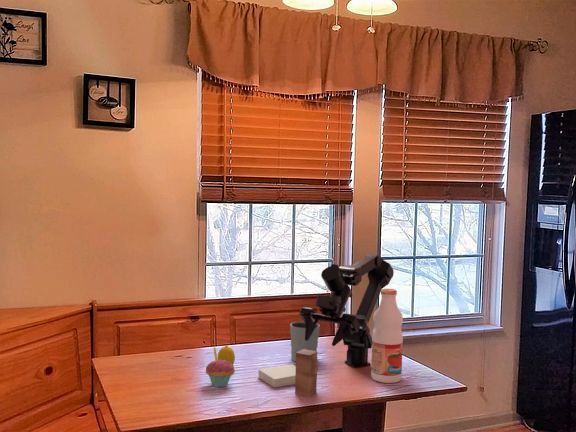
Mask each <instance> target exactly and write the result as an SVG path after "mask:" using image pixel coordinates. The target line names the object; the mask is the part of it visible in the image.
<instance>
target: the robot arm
mask: <svg viewBox="0 0 576 432" xmlns="http://www.w3.org/2000/svg"><path fill="white" fill-rule="evenodd" d="M394 271H395V270H394V268H393V267H392V266H391V264H390V262H387V261H386V260H385V259H383V258H382V257H381V256H380V255H378V254H371V253H370V254H366V255H365V256H364V257H363V258H362V259H359V260H358V261H356V262H355V263H353V264H350V265H349V264H348V265H341V266H339V263H338V264H337V263H331V265H330V266H328V267H326V268H324V269H323V270H322V271H321V274H320V277H321V278H322V281H323V282H324V284H325V286H326V288H327V289H328V291H330V293H329V296H328V295H322V294H317V297H316V301H315V304H314V306H317V307H319V308H318V310H319V312H321V313H316V311H315V309H314V308H311V307H307V306H306V307H304V306H303V307H301V309H300V310H299V313H298V314H299V316H300V318H301V319H302V321H304V322H305V325H306V328H305V340H306V341H308V339H309V338H310V336H311V335H312V333H313V331H314V329H315V328H316V325H315V324H318V321H320V322H321V321H323V322H327V323H332V324H338V328H337V330H336V332H335V335H334V337H333V339H332V343H331V345H332V347H335V346H336V345H337V344H339V343H340V342H341V341H343V345H344V346H347V350H346V360H344V363H345V364H347V365H350V366H352V367H354V368H360V367H365V366H371V362H369V360H368V359H369V349H372V334H371V333H370V332H371V329H370V325H369V322H370V319H371V318H372V316H373V315H372V314H373V312H374V310H375V307H376V305H377V301H378V299H379V298H380V297H379V296H380V295H381V289H385V287H387V286H388V285H389V284H390V282H391V281H392V279H393V277H394ZM366 274H367V279H368V284H367V287H366V289H365V290H364V294H363V296H362V299H361V300H360V304H359V306H358V308H357V311H356V313H355V314H351V313H345V312H346V309H347V308H346V305H347V302H348V300H349V298H350V299H351V298H353V292H352V289H351V287H350V286H352V287H353V286H354V287H356V286H358V285H359V284H360V283H361V282H362V278H363V276H365V275H366Z"/></svg>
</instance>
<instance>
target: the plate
mask: <svg viewBox="0 0 576 432" xmlns="http://www.w3.org/2000/svg"><path fill="white" fill-rule="evenodd" d="M295 374H296V365H294V364H292V363H291V364H284V365H278V366H273V367H267V368H261V369H258V378H259V379H260V380H262V381H263V382H265V383H267V384H268V385H270V386H271V387H272V388H279V387H283V386H285V387H286V386H290V385H295Z"/></svg>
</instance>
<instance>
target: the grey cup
mask: <svg viewBox="0 0 576 432" xmlns="http://www.w3.org/2000/svg"><path fill="white" fill-rule="evenodd" d="M315 325H316V328H315V329H314V331H313V333H312V335H311V336H310V338H309V339H308V341H306V340H305V328H306V325H305V322H304V321H303V320H302V321H293V322H291V323H289V327H290V330H289V331H290V337H291V338H290V347H291V348H290V353H291V356H290V357H291V360H292V361H293V362H296V352H298V351H300V350H303V349H307V350H312V351H317V352H318V343H319V336H320V334H319V333H320V327H321V326H320V324H319V323H317V324H315Z"/></svg>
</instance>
